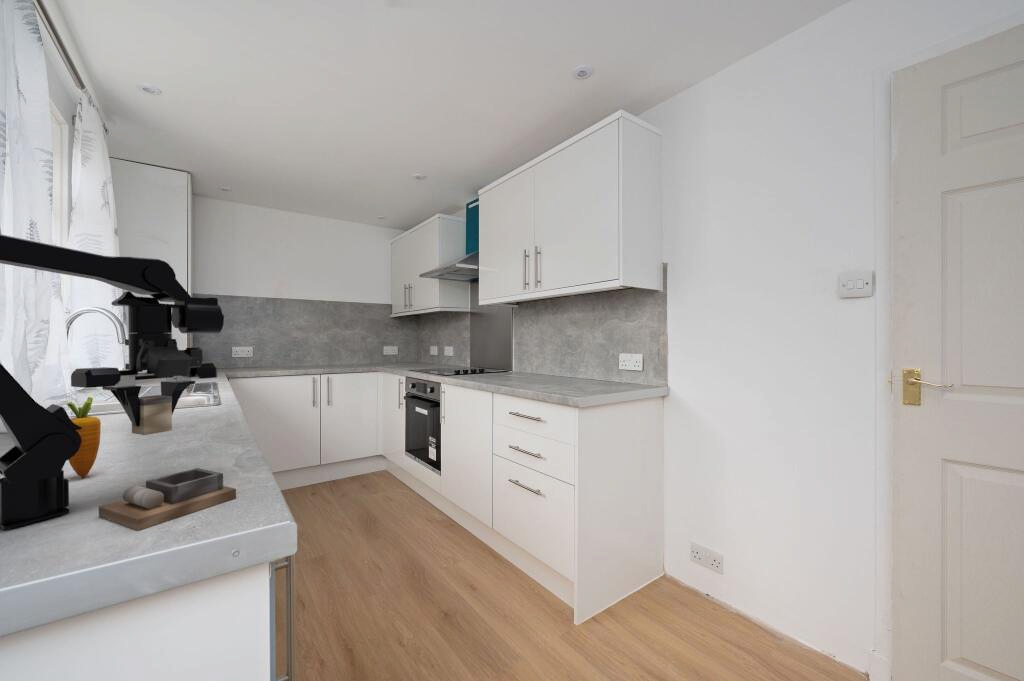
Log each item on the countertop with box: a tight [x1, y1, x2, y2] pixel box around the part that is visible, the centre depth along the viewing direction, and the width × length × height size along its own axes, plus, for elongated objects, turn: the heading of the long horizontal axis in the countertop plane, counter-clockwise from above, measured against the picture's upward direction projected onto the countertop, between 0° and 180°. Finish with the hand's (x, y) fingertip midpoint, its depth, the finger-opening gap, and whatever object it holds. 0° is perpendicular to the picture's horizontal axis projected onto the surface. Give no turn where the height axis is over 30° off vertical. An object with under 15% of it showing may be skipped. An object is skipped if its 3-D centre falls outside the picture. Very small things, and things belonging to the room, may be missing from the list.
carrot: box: [66, 396, 102, 478], centre depth 81 cm, size 5×5×15 cm
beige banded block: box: [131, 394, 173, 436], centre depth 74 cm, size 4×4×6 cm
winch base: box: [98, 467, 237, 531], centre depth 66 cm, size 13×11×4 cm
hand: (152, 424), depth 74 cm, fingers closed on beige banded block, 4 cm apart
